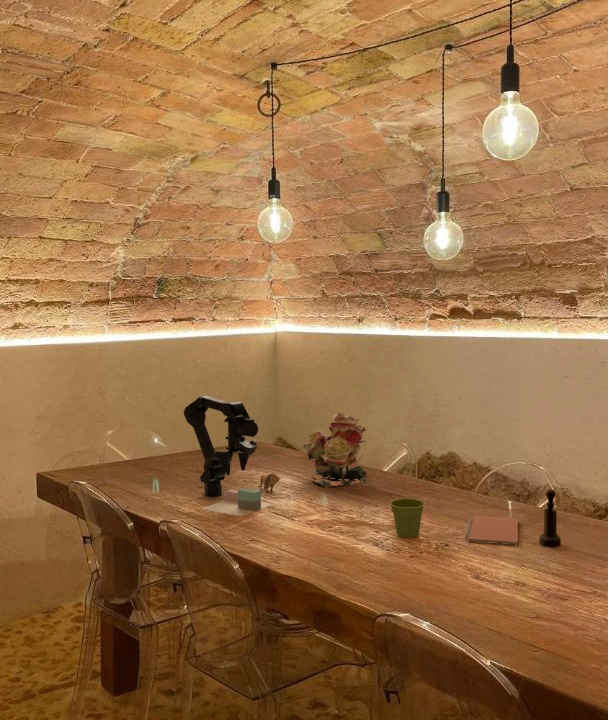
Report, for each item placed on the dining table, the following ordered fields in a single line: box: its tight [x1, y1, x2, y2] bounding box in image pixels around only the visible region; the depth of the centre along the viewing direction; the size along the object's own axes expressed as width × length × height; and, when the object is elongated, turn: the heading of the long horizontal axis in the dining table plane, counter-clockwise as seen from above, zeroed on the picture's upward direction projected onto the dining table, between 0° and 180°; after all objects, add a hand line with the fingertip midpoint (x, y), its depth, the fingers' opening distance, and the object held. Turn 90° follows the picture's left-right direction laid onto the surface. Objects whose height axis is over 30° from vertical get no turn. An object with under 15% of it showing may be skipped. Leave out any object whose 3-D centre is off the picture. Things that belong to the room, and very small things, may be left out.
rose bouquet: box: [302, 412, 368, 487], centre depth 334 cm, size 26×29×30 cm
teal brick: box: [237, 487, 262, 502], centre depth 290 cm, size 8×4×4 cm, turn 56°
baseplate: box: [200, 499, 273, 517], centre depth 293 cm, size 20×20×4 cm
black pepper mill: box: [539, 488, 561, 548], centre depth 245 cm, size 7×6×18 cm
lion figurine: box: [257, 472, 281, 494], centre depth 317 cm, size 15×5×9 cm, turn 34°
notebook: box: [464, 515, 519, 545], centre depth 260 cm, size 27×17×2 cm, turn 164°
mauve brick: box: [224, 488, 239, 502], centre depth 302 cm, size 8×4×4 cm, turn 56°
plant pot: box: [389, 497, 426, 539], centre depth 256 cm, size 12×12×11 cm
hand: (235, 472), depth 302 cm, fingers open, 9 cm apart
